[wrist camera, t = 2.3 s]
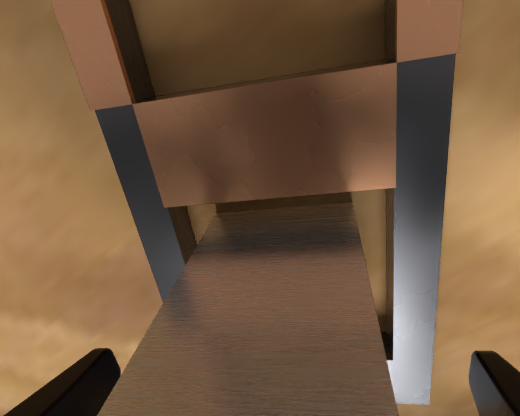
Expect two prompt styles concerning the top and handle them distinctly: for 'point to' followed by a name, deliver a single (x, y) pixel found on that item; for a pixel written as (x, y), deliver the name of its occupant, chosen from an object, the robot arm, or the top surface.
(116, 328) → the top surface
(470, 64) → the top surface
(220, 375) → the knobbed block
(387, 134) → the rail
